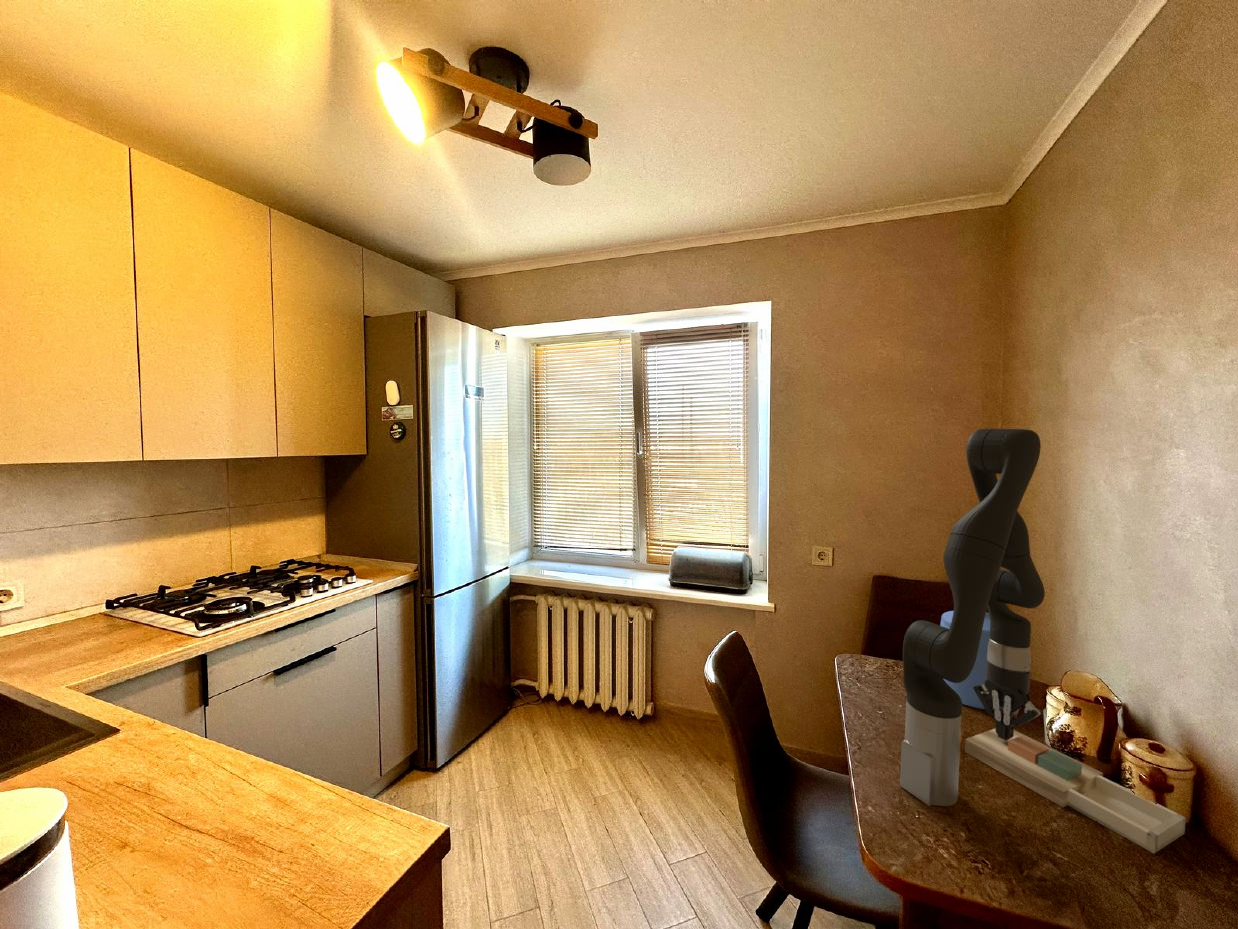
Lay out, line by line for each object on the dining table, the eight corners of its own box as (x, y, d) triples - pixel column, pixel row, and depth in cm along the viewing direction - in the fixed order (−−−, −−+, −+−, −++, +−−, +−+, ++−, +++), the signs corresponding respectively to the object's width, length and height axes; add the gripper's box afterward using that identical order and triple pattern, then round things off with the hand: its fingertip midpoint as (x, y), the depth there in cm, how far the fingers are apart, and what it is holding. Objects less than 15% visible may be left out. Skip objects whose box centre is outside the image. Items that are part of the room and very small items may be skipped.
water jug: (944, 703, 131) (949, 599, 130) (932, 677, 146) (936, 583, 144) (1017, 717, 125) (1022, 608, 123) (997, 688, 139) (1002, 590, 138)
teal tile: (1067, 781, 97) (1068, 771, 97) (1037, 765, 102) (1038, 756, 102) (1081, 774, 99) (1082, 764, 99) (1051, 759, 104) (1052, 750, 104)
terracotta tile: (1034, 764, 102) (1035, 754, 102) (1007, 749, 107) (1008, 740, 107) (1048, 758, 104) (1049, 748, 104) (1021, 744, 109) (1022, 735, 109)
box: (1154, 853, 84) (1155, 836, 84) (1067, 805, 95) (1068, 790, 95) (1184, 833, 88) (1185, 817, 88) (1098, 789, 99) (1099, 775, 99)
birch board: (1062, 807, 94) (1063, 792, 94) (964, 752, 111) (965, 739, 111) (1102, 787, 100) (1103, 773, 100) (1003, 737, 116) (1003, 725, 116)
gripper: (966, 652, 113) (962, 726, 114) (1033, 678, 101) (1029, 760, 102) (986, 647, 116) (982, 718, 117) (1054, 671, 104) (1049, 751, 105)
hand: (1004, 738), depth 110 cm, fingers closed
